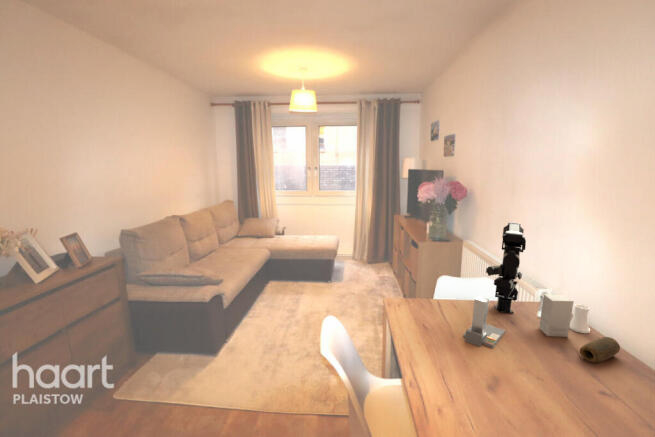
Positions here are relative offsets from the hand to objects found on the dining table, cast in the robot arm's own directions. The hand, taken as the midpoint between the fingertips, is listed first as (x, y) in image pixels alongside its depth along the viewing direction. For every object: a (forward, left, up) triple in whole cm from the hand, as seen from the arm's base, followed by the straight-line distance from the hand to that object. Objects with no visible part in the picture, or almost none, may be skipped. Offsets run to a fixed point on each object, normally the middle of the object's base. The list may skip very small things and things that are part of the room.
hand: (505, 297), depth 134 cm
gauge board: (+12, -12, -12) cm, 21 cm away
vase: (-2, +31, -12) cm, 33 cm away
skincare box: (+4, +18, -12) cm, 22 cm away
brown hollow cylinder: (+20, +25, -12) cm, 34 cm away
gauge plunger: (+16, -13, -11) cm, 23 cm away
